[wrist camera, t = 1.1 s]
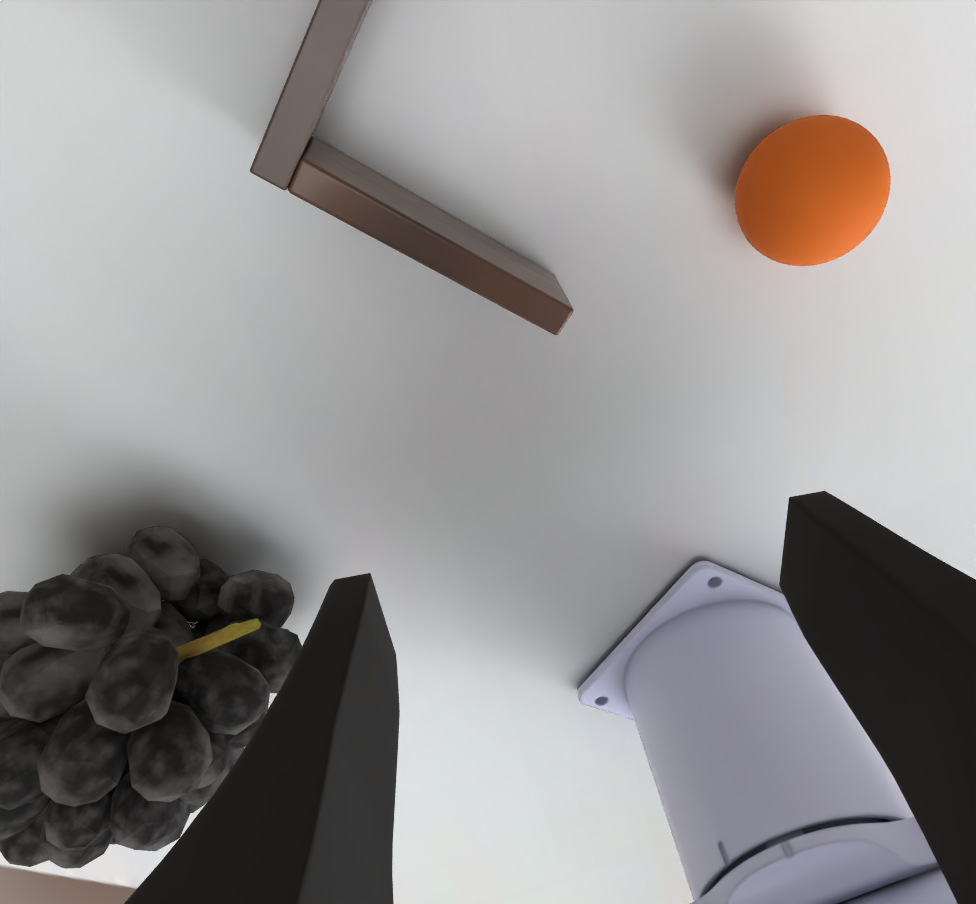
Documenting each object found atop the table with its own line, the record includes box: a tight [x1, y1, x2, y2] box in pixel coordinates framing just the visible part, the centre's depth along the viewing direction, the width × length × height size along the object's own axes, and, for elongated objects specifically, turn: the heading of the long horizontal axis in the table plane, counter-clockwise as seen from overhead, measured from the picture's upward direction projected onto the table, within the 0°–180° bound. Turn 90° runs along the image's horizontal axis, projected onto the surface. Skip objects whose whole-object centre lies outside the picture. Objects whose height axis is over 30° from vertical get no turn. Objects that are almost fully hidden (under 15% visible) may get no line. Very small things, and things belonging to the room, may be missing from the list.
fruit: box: [0, 526, 302, 868], centre depth 22 cm, size 9×8×15 cm
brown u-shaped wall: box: [250, 0, 573, 335], centre depth 15 cm, size 8×12×3 cm
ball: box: [735, 115, 890, 266], centre depth 17 cm, size 3×3×3 cm
